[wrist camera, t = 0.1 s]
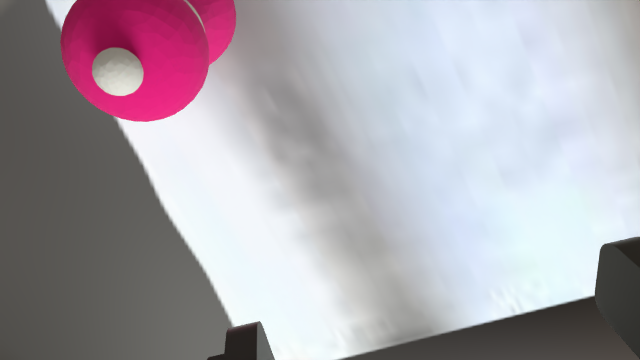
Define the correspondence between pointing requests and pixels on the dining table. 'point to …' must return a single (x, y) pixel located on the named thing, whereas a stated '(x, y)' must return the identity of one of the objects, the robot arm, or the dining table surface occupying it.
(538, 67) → the dining table surface
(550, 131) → the dining table surface
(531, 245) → the dining table surface
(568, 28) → the dining table surface
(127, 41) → the pepper mill
